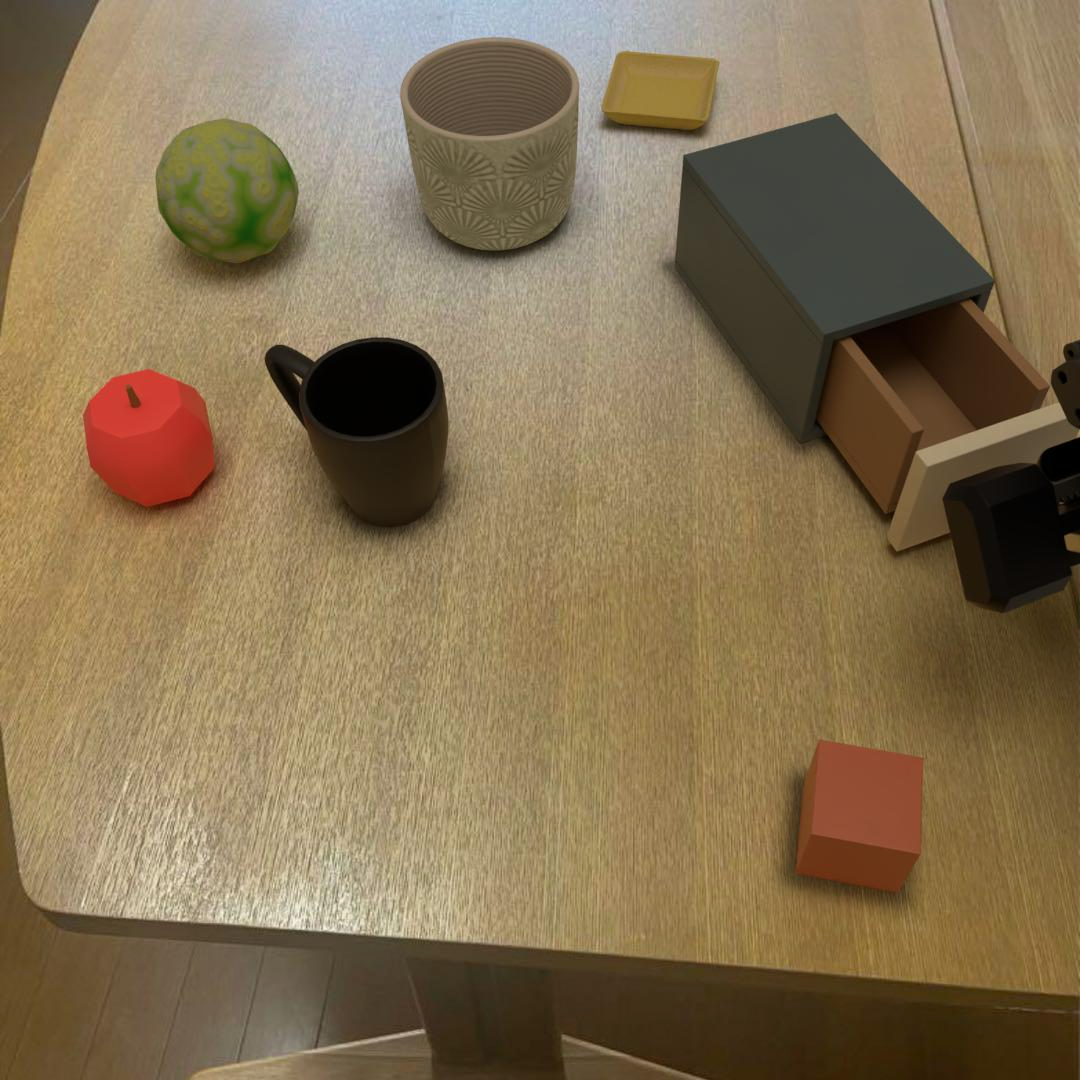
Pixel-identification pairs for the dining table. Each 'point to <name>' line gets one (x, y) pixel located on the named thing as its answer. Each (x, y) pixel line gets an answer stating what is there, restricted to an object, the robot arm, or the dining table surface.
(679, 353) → the dining table surface
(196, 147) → the decorative ball
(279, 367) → the mug
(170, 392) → the apple
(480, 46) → the planter
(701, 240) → the cabinet
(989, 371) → the drawer
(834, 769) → the block
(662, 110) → the saucer
